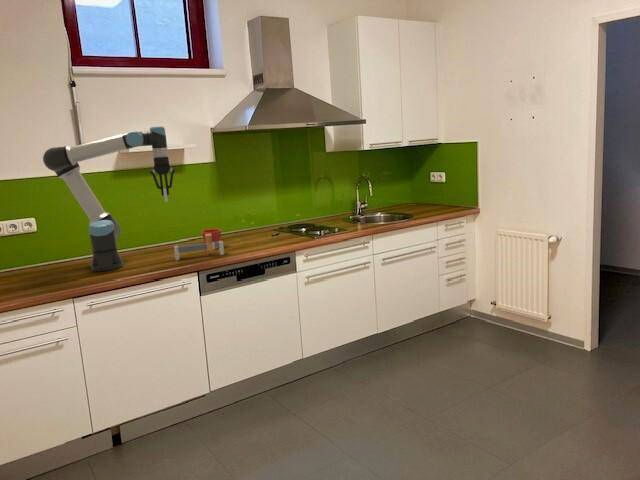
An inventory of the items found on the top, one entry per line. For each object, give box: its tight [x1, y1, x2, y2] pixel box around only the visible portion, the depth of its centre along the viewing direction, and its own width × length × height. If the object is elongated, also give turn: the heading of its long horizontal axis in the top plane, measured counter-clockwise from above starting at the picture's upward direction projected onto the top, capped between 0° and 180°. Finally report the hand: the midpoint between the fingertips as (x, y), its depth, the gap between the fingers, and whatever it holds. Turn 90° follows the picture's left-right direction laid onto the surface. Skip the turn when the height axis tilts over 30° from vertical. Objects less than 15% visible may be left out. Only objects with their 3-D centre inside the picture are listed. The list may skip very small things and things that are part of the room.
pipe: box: [173, 240, 225, 261], centre depth 281 cm, size 25×6×7 cm, turn 104°
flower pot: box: [201, 228, 222, 243], centre depth 302 cm, size 11×11×10 cm
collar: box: [205, 233, 214, 255], centre depth 281 cm, size 3×7×10 cm, turn 15°
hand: (166, 201), depth 283 cm, fingers closed
